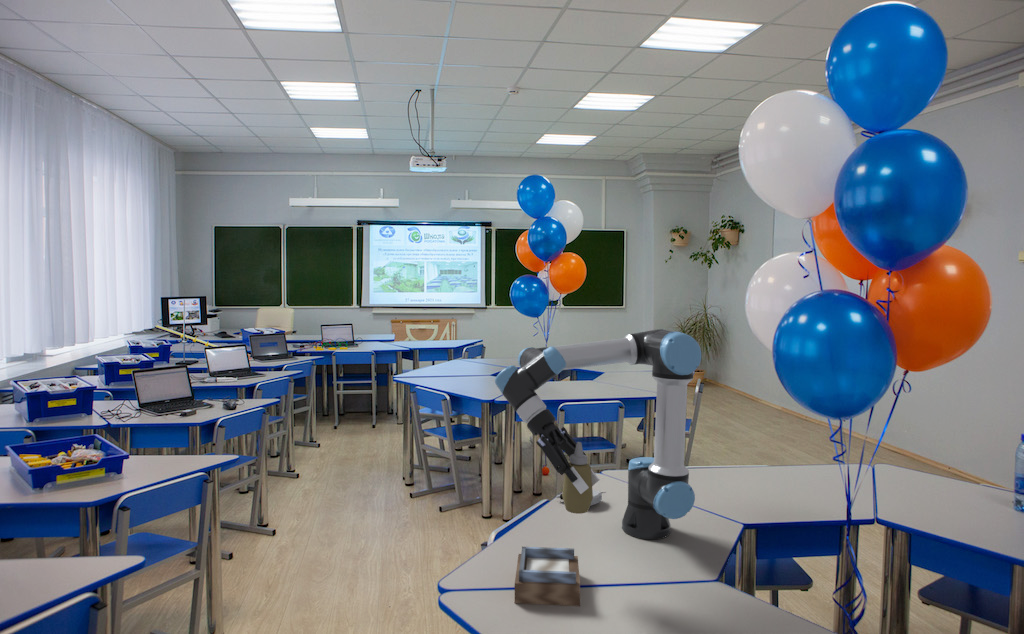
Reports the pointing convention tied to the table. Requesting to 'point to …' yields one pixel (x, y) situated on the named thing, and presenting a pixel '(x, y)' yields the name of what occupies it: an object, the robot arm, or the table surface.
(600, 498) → the robot toy
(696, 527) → the table surface
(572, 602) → the dock
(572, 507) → the squeeze bottle
